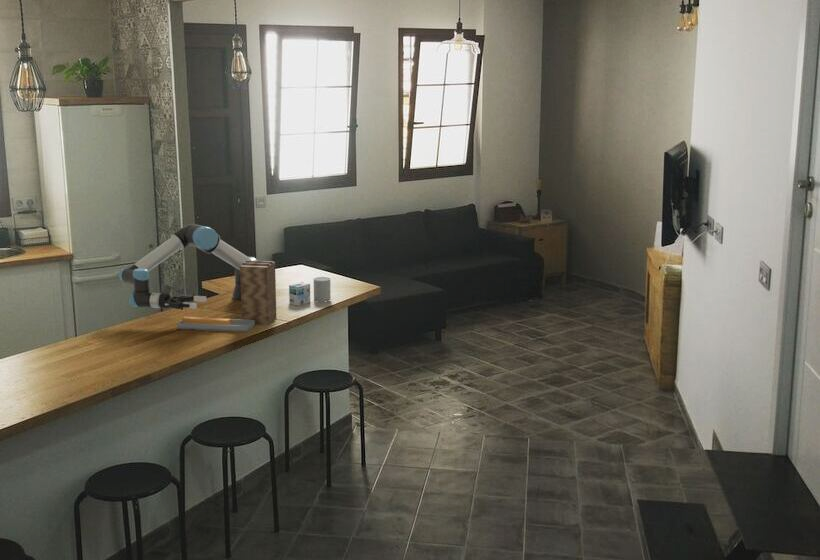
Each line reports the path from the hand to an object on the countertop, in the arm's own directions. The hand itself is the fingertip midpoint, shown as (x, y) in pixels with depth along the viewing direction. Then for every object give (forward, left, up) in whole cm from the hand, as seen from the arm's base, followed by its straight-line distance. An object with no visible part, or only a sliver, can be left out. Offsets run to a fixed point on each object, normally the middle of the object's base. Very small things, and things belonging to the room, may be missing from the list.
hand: (201, 302), depth 435 cm
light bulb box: (-2, +66, -13) cm, 67 cm away
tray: (+6, +4, -13) cm, 15 cm away
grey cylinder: (+2, +79, -13) cm, 80 cm away
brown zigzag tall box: (+12, +27, -13) cm, 32 cm away
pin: (+2, +1, -12) cm, 12 cm away
